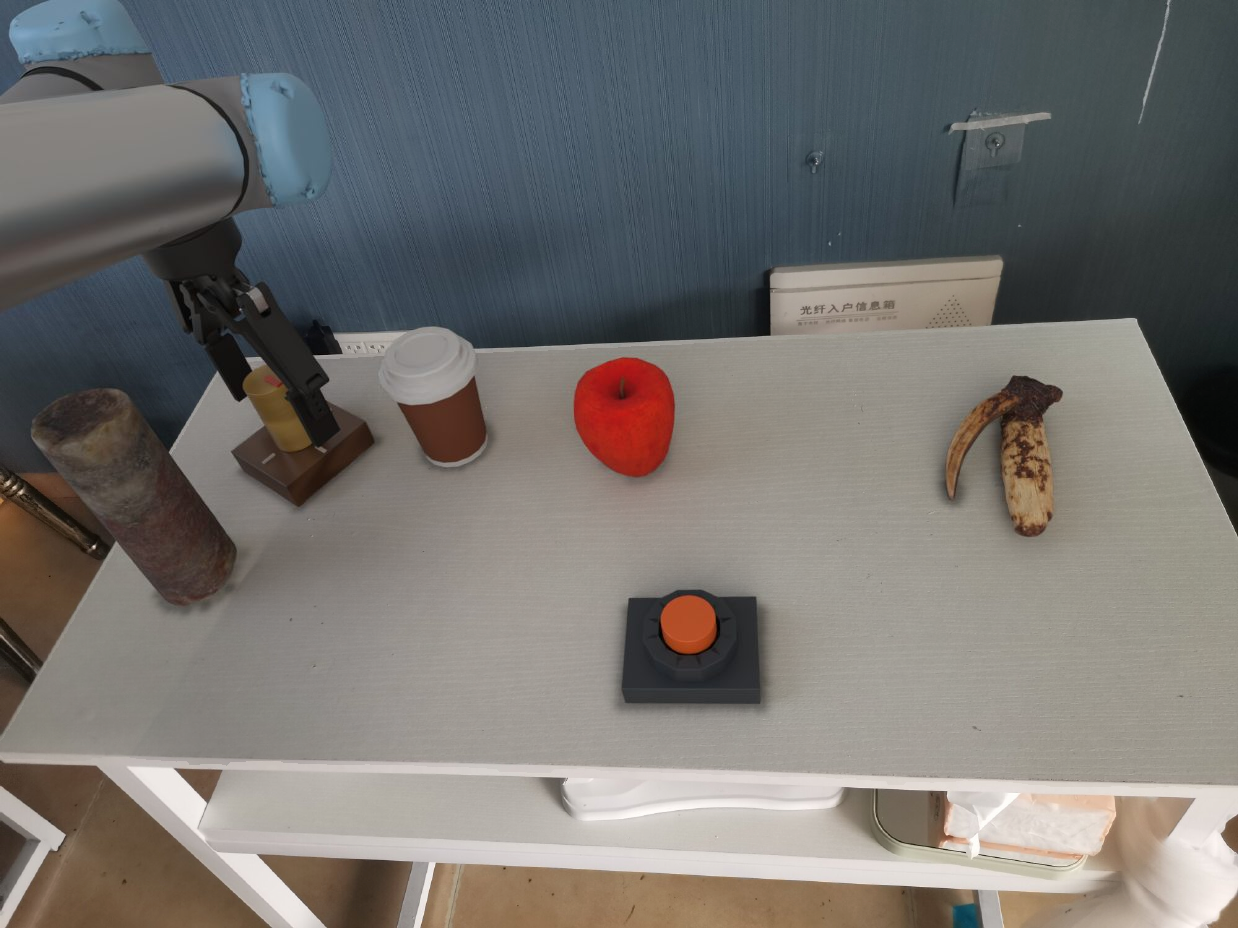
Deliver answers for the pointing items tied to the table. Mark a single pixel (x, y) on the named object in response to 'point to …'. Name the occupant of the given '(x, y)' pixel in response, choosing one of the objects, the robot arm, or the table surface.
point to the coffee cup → (437, 393)
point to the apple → (626, 415)
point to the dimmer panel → (304, 458)
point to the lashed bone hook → (1014, 450)
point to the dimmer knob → (275, 409)
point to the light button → (688, 624)
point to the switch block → (692, 655)
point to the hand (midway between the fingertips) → (286, 414)
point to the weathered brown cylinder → (136, 492)
